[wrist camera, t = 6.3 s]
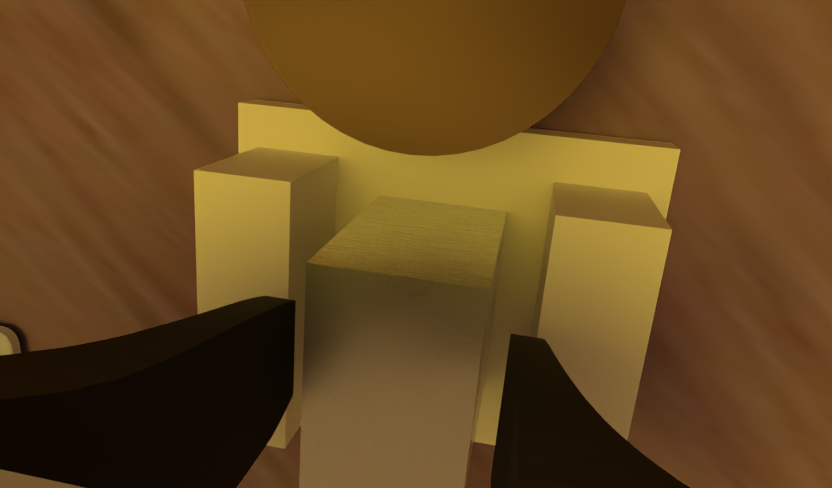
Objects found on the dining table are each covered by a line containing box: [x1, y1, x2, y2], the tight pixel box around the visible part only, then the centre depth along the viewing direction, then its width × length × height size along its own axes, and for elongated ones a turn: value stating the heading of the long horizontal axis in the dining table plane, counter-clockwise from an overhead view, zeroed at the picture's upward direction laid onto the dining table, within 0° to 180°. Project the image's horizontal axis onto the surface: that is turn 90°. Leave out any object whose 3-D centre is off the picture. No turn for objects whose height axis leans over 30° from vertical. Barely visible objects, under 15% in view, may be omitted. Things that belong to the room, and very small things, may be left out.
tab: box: [299, 195, 507, 488], centre depth 13 cm, size 3×4×5 cm, turn 175°
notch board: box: [194, 99, 680, 449], centre depth 15 cm, size 8×10×4 cm
